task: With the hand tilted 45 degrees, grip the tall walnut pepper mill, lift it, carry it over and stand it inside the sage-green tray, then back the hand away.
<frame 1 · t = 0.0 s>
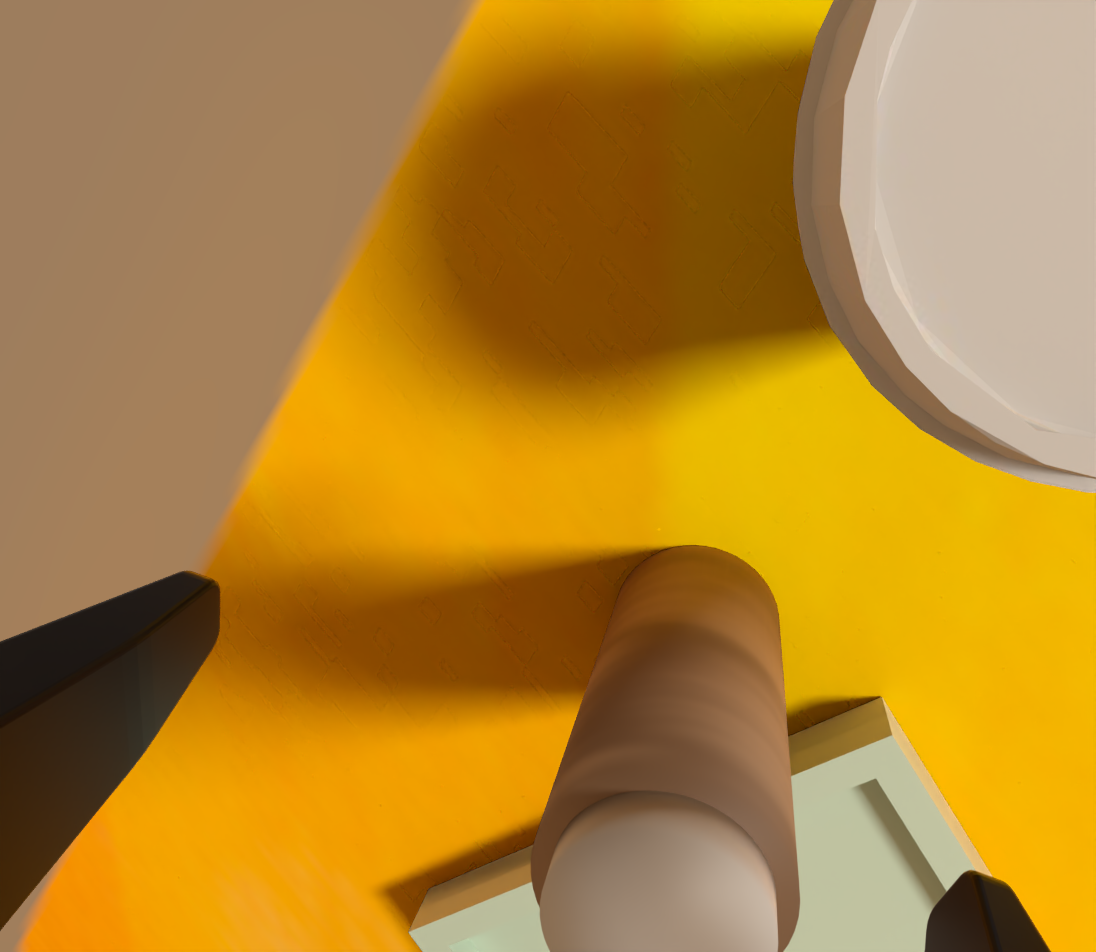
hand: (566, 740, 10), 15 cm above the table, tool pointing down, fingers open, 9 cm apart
disposable coffee cup: (974, 174, 21), on the table
pepper mill: (695, 621, 26), on the table
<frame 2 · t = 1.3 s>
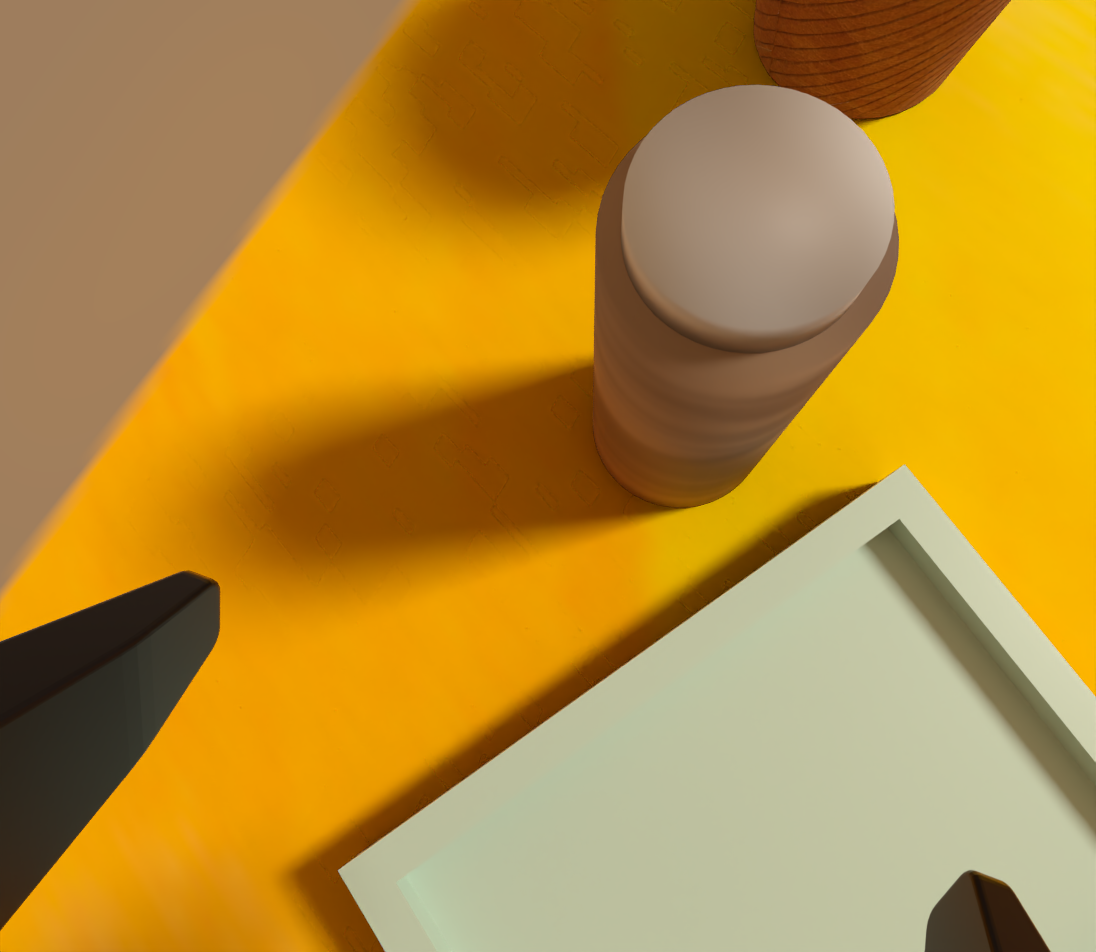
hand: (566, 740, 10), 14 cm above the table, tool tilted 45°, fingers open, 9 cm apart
disposable coffee cup: (853, 35, 28), on the table
tray: (779, 878, 22), on the table
pepper mill: (678, 424, 25), on the table
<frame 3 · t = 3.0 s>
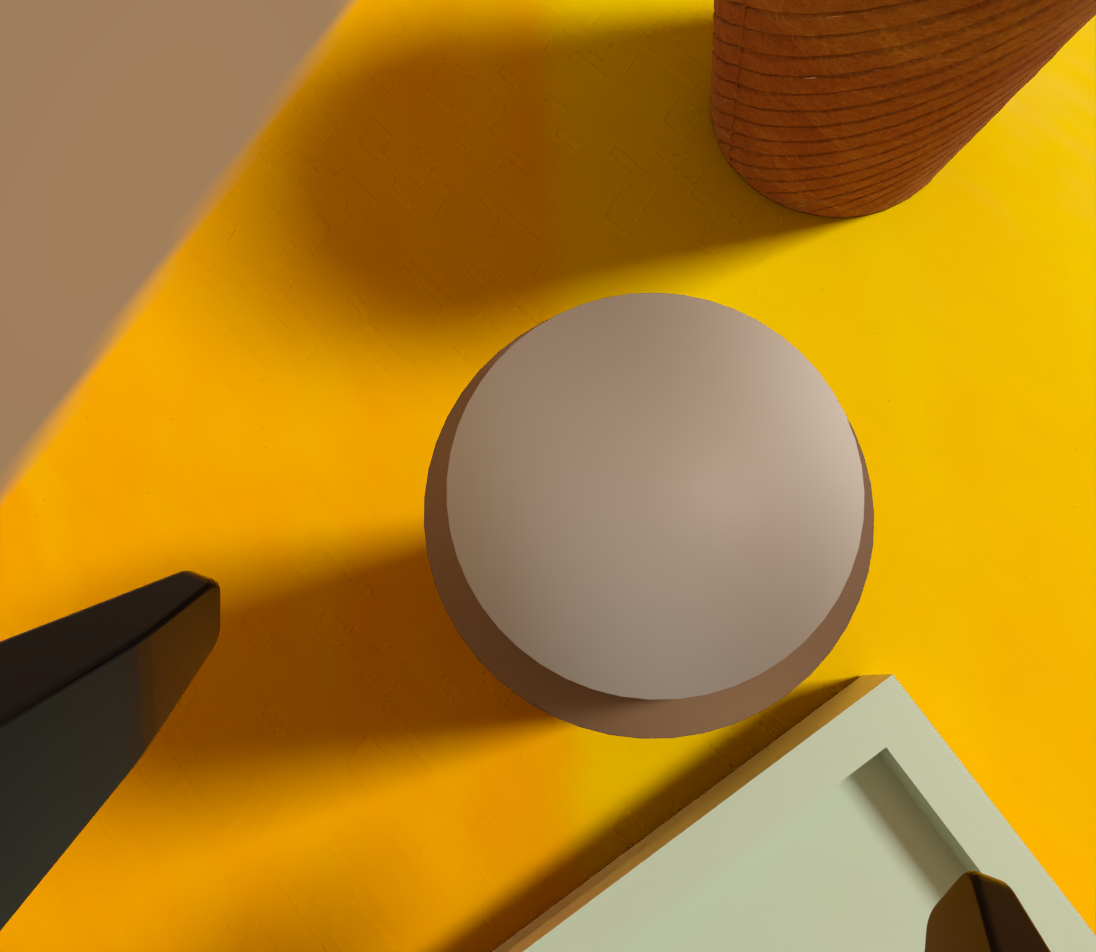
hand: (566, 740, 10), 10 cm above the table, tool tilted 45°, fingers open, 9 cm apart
disposable coffee cup: (830, 113, 23), on the table
pepper mill: (614, 599, 20), on the table
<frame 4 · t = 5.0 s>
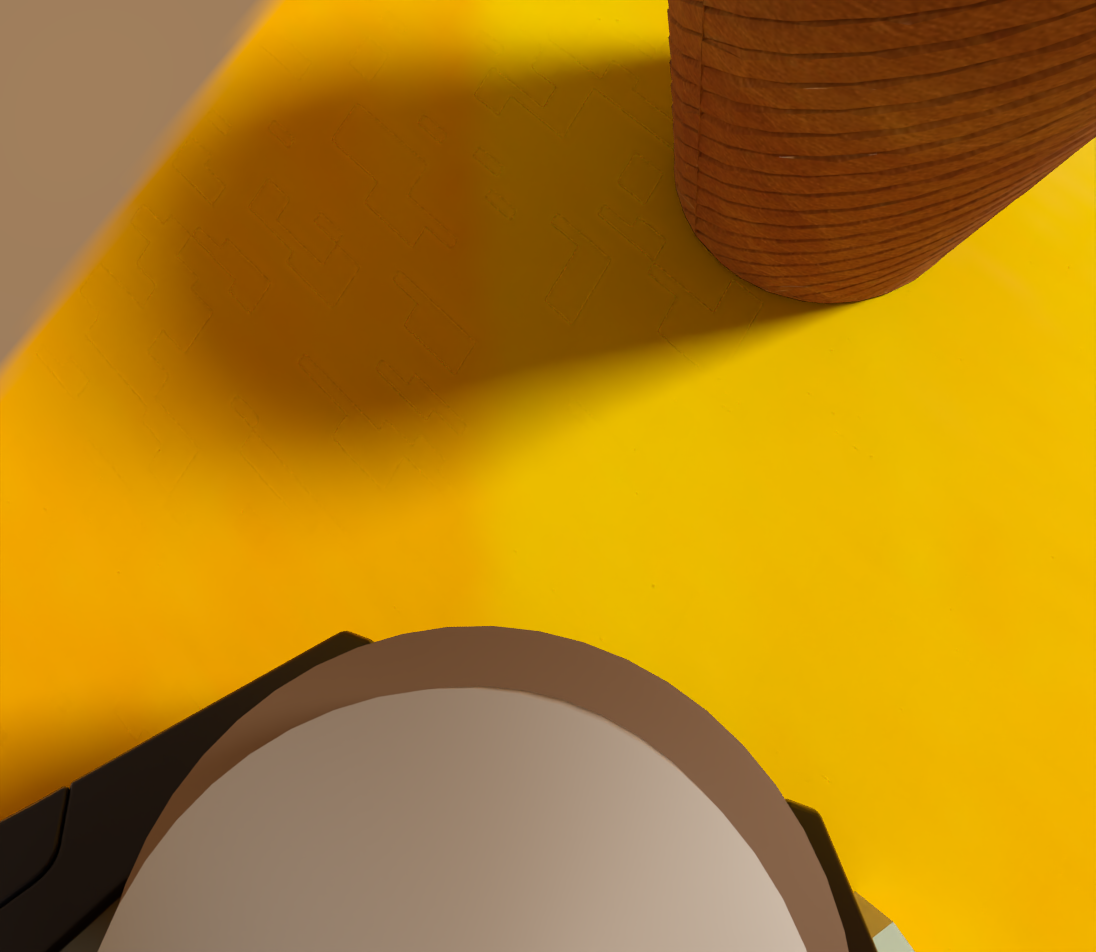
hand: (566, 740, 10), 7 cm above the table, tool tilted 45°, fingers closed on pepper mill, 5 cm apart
disposable coffee cup: (819, 172, 19), on the table
pepper mill: (548, 788, 16), on the table, touching gripper
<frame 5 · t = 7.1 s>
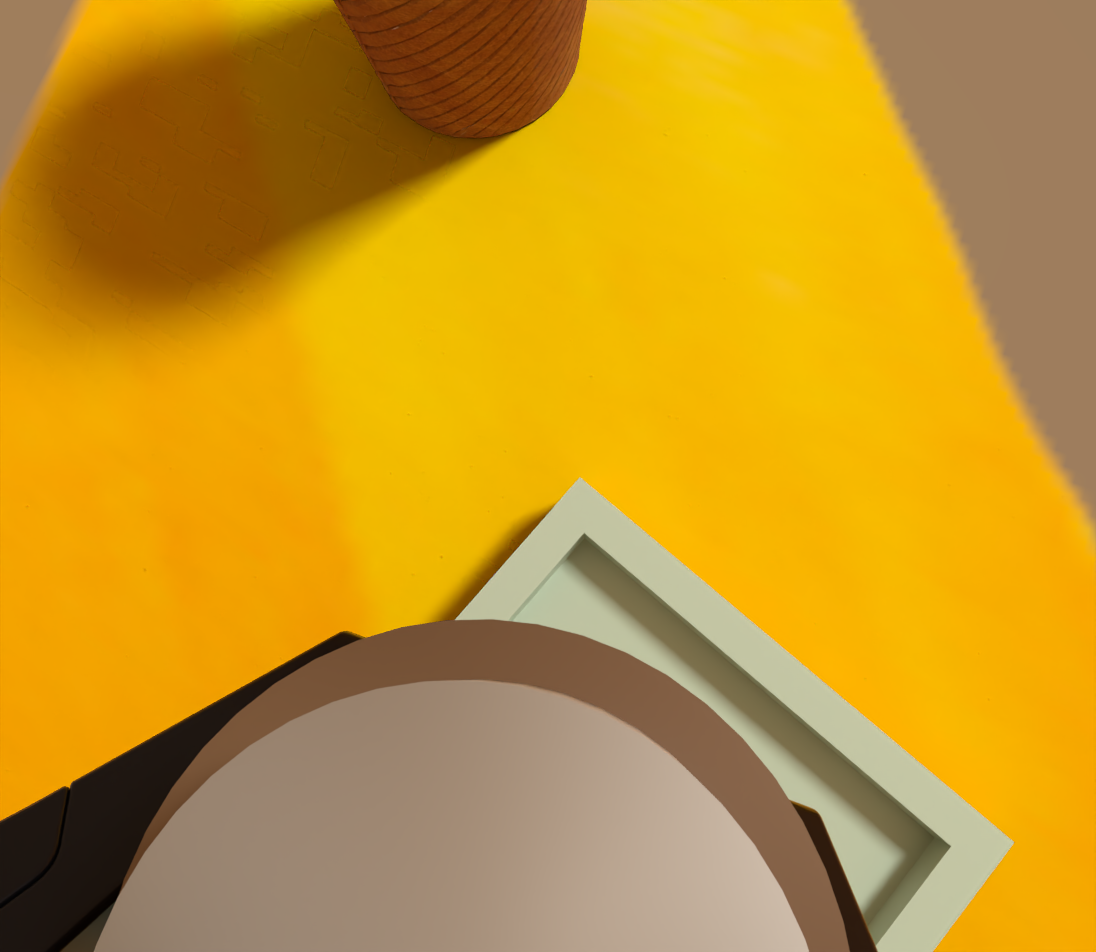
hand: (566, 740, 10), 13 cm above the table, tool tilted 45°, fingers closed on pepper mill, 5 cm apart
disposable coffee cup: (479, 52, 27), on the table
tray: (556, 912, 22), on the table
pepper mill: (548, 785, 16), point 7 cm above the table, touching gripper
when the fingers open (8 cm above the table, at t = 9.5 s): pepper mill stays where it is, resting on tray.
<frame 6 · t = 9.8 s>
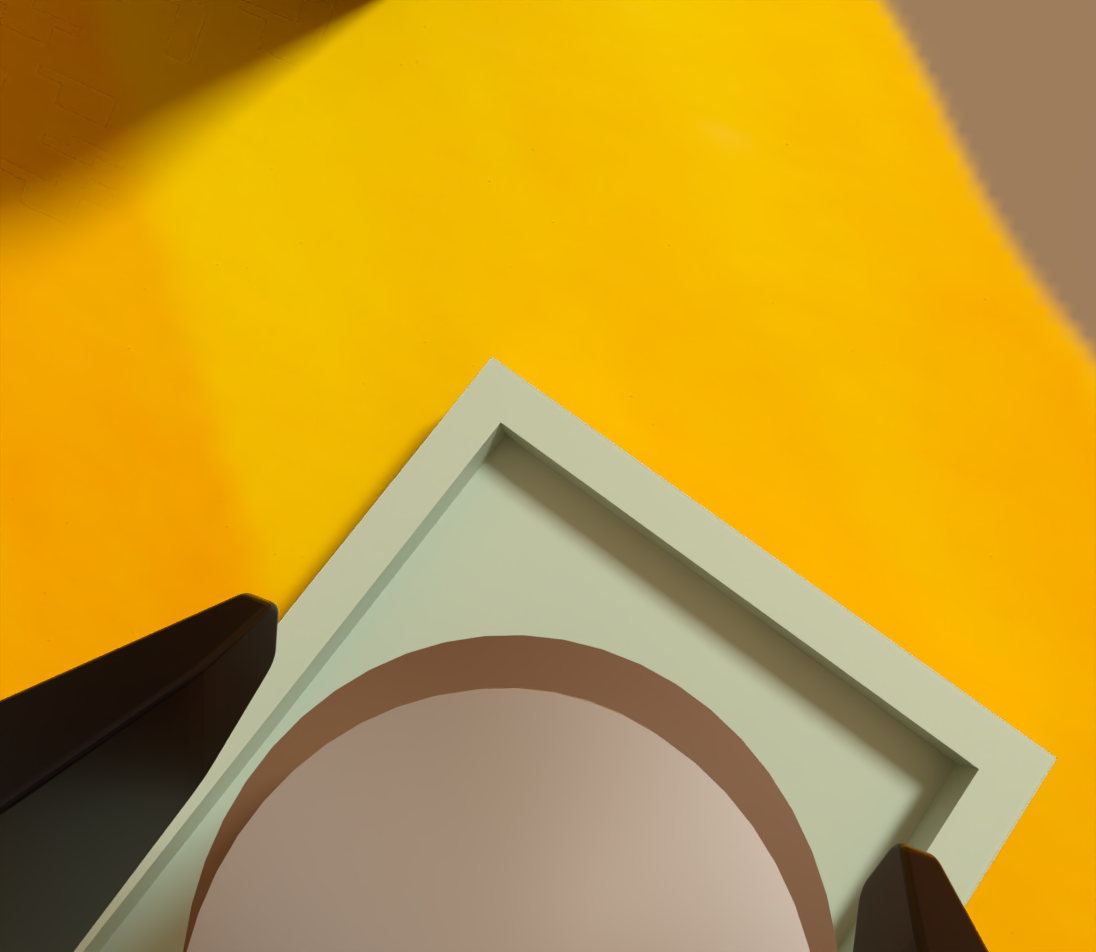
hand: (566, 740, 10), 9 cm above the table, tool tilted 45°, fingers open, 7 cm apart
tray: (497, 895, 18), on the table
pepper mill: (549, 786, 17), point 1 cm above the table, touching tray
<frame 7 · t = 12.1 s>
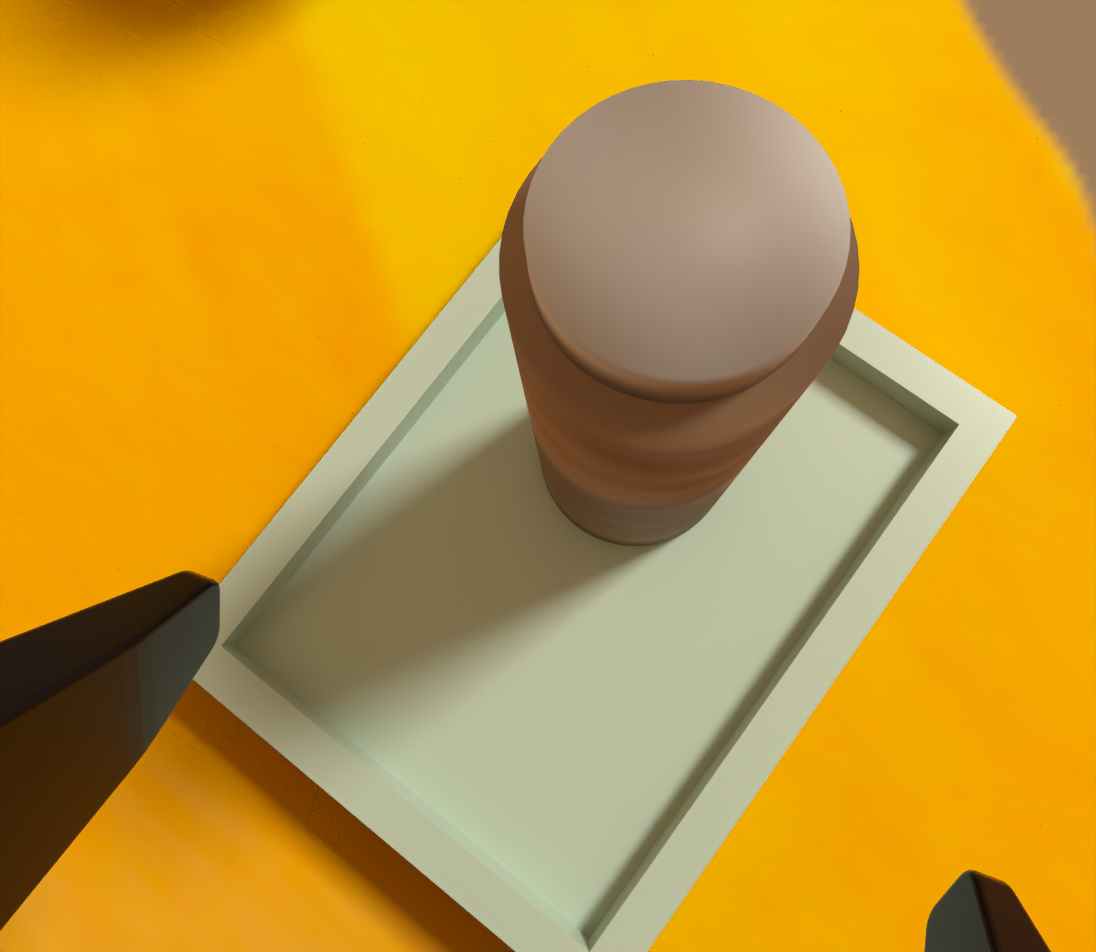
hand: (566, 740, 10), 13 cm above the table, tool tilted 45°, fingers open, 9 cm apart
tray: (591, 543, 23), on the table
pepper mill: (634, 452, 23), point 1 cm above the table, touching tray
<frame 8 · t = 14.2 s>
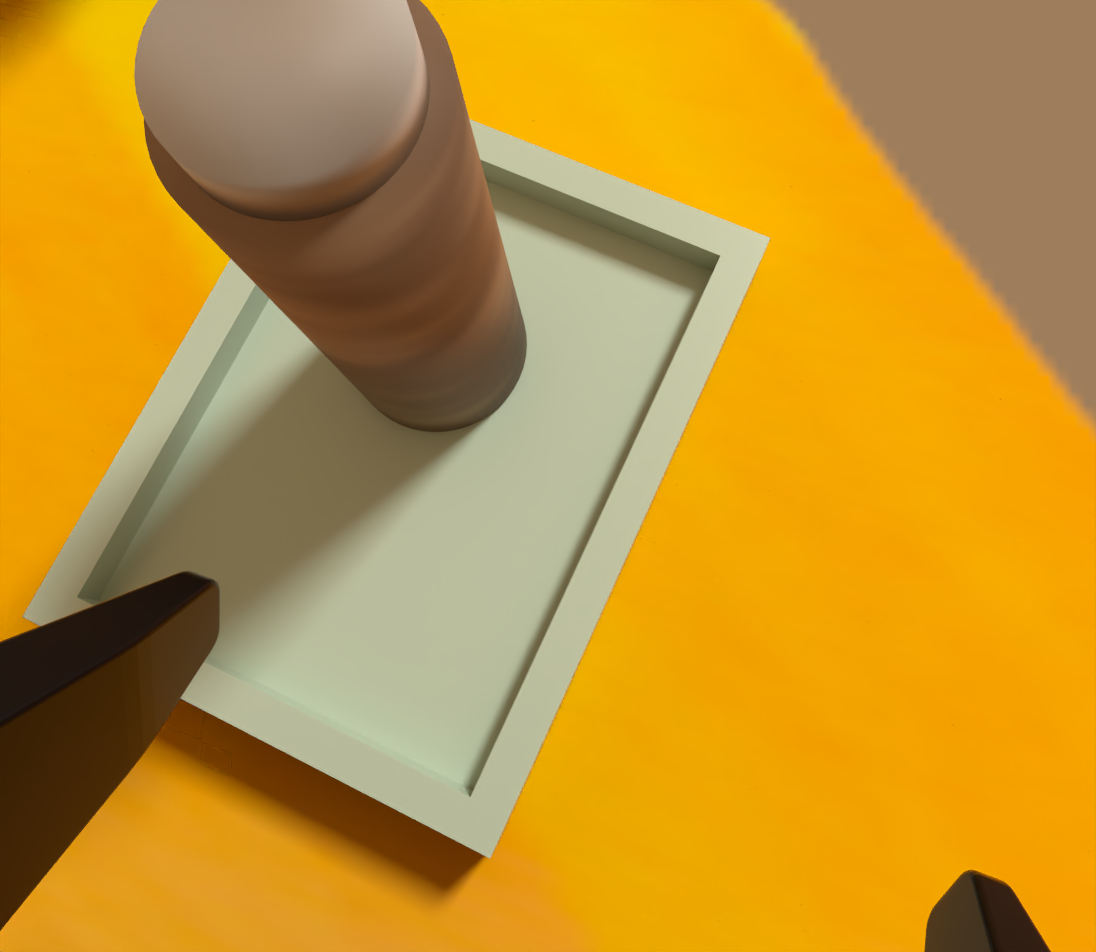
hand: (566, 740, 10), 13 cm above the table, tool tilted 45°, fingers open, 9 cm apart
tray: (421, 441, 25), on the table
pepper mill: (439, 346, 24), point 1 cm above the table, touching tray
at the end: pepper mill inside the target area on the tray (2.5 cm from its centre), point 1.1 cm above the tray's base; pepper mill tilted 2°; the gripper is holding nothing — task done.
